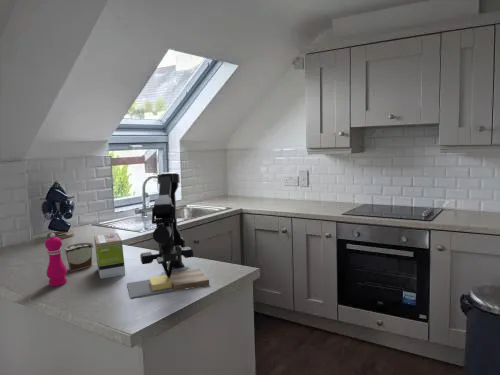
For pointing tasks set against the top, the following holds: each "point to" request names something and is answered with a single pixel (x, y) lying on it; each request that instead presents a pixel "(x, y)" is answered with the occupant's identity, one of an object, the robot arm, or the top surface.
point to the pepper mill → (55, 261)
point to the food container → (79, 255)
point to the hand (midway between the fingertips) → (168, 277)
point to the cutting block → (188, 279)
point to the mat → (144, 289)
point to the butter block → (160, 282)
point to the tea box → (109, 255)
